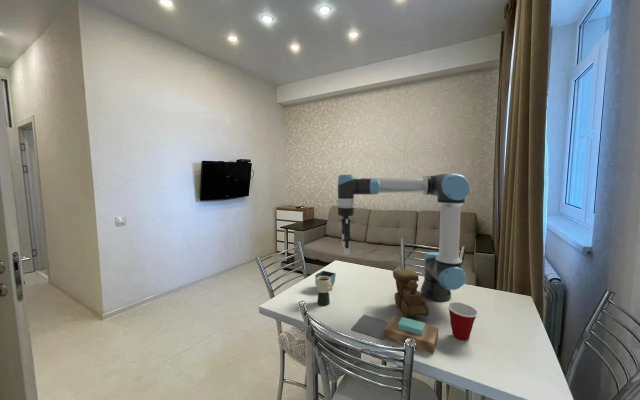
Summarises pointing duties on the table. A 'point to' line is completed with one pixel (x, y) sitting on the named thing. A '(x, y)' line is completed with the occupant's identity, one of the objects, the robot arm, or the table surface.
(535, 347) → the table surface
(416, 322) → the teal rectangular block
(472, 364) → the table surface
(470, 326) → the plastic cup
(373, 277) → the table surface
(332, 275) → the flower pot
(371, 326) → the mat
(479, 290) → the table surface
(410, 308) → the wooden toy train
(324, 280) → the character mug
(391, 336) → the brown rectangular block
